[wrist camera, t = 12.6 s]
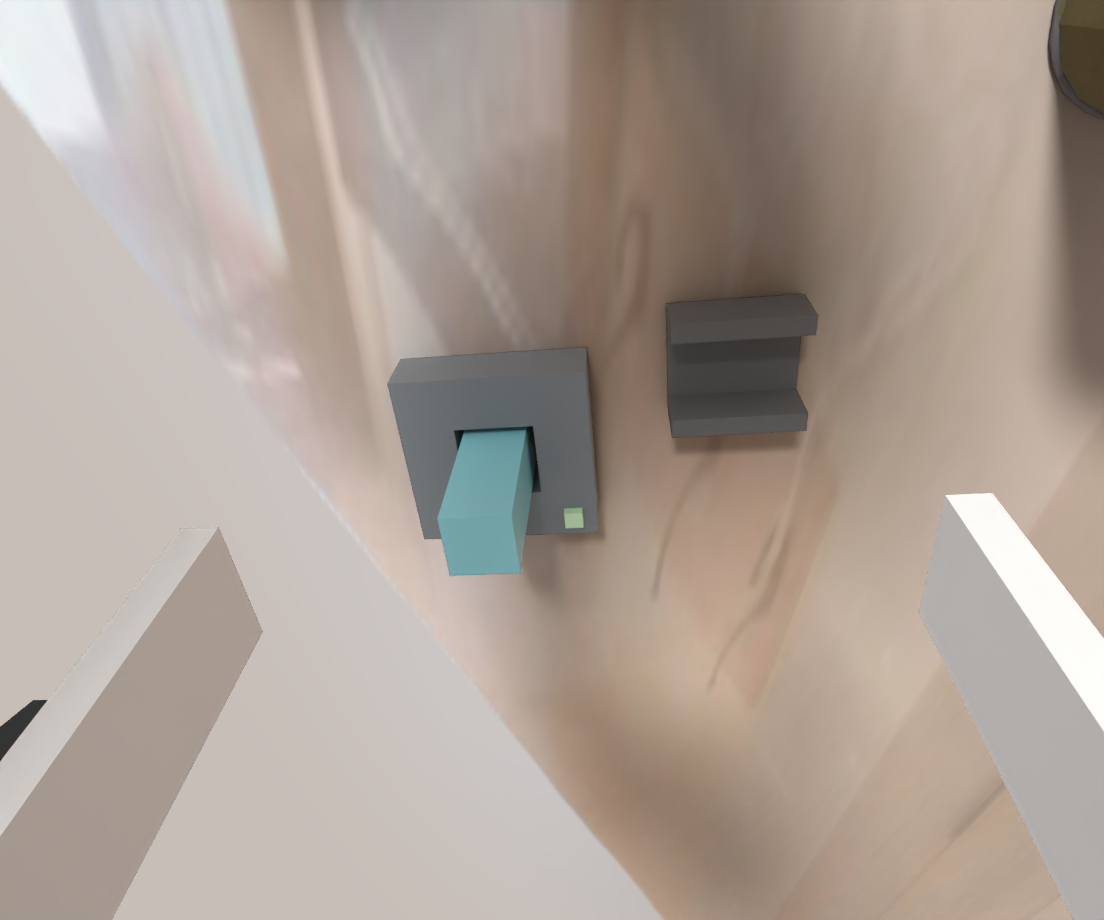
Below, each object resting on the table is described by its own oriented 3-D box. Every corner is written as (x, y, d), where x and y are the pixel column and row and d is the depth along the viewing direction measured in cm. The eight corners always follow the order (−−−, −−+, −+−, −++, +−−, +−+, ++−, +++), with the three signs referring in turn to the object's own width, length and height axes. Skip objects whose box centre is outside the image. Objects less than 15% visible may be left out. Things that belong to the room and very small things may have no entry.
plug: (470, 410, 50) (437, 518, 40) (529, 406, 49) (511, 515, 39) (479, 460, 52) (449, 575, 42) (536, 457, 52) (520, 573, 41)
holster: (665, 300, 45) (670, 324, 42) (802, 290, 44) (817, 314, 41) (667, 408, 49) (672, 437, 46) (792, 401, 48) (806, 430, 45)
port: (400, 359, 48) (384, 388, 45) (586, 346, 47) (585, 376, 43) (434, 509, 54) (422, 544, 51) (598, 501, 53) (598, 537, 50)
